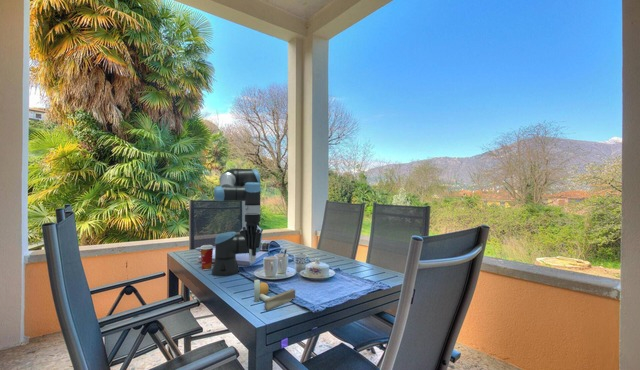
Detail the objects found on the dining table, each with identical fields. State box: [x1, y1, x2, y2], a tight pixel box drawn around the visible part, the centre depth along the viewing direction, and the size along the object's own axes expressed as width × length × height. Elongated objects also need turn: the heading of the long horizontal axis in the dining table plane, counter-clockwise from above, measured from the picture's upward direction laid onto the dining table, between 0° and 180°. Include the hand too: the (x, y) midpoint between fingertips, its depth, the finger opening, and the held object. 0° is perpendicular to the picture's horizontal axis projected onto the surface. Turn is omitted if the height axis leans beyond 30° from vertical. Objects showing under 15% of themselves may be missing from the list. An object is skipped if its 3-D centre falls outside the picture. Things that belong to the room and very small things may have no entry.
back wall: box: [264, 288, 296, 311], centre depth 122 cm, size 2×16×4 cm, turn 141°
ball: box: [260, 281, 270, 296], centre depth 132 cm, size 6×6×6 cm
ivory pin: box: [260, 294, 271, 302], centre depth 125 cm, size 2×2×9 cm
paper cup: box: [199, 244, 214, 270], centre depth 175 cm, size 8×8×14 cm
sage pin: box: [253, 279, 261, 303], centre depth 126 cm, size 2×2×9 cm
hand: (252, 261), depth 138 cm, fingers closed
